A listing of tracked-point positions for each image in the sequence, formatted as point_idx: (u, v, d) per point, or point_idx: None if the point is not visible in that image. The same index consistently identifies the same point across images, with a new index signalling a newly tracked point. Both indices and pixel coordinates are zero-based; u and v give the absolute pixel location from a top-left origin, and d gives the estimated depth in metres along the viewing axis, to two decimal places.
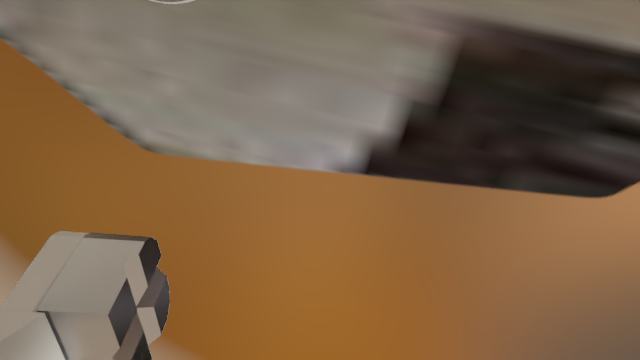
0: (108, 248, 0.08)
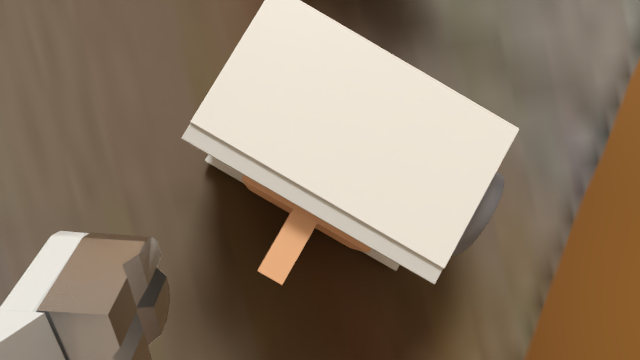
0: (108, 248, 0.08)
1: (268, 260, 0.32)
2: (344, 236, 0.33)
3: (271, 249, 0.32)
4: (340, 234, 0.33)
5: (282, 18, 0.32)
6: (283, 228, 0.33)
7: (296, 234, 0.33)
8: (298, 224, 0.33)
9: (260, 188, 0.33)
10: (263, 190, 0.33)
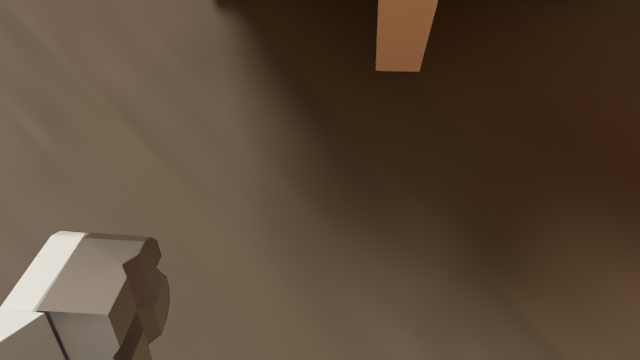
0: (108, 248, 0.08)
1: None
2: None
3: None
4: None
5: None
6: None
7: None
8: None
9: None
10: None
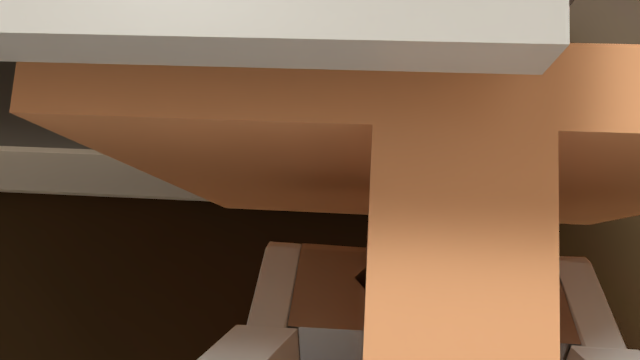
0: (332, 260, 0.08)
1: None
2: None
3: None
4: None
5: None
6: (376, 264, 0.05)
7: (472, 262, 0.05)
8: (450, 196, 0.05)
9: (135, 108, 0.05)
10: (157, 110, 0.05)
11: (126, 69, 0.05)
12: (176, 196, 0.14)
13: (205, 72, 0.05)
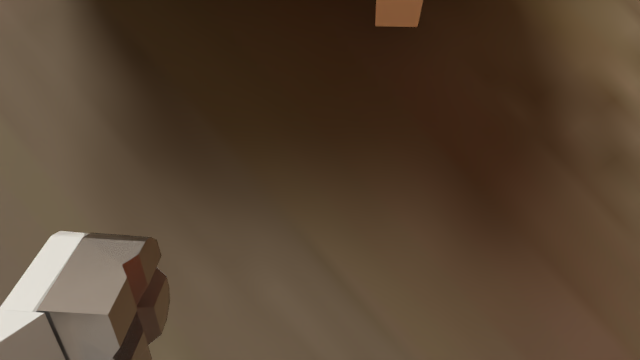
0: (108, 248, 0.08)
1: None
2: None
3: None
4: None
5: None
6: None
7: None
8: None
9: None
10: None
11: None
12: None
13: None
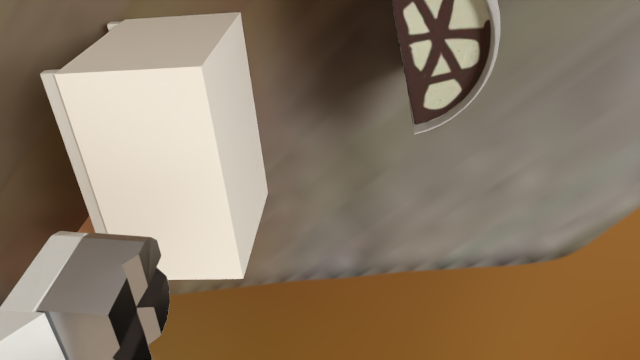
0: (108, 248, 0.08)
1: None
2: None
3: None
4: None
5: (182, 89, 0.34)
6: None
7: None
8: None
9: None
10: None
11: None
12: None
13: None
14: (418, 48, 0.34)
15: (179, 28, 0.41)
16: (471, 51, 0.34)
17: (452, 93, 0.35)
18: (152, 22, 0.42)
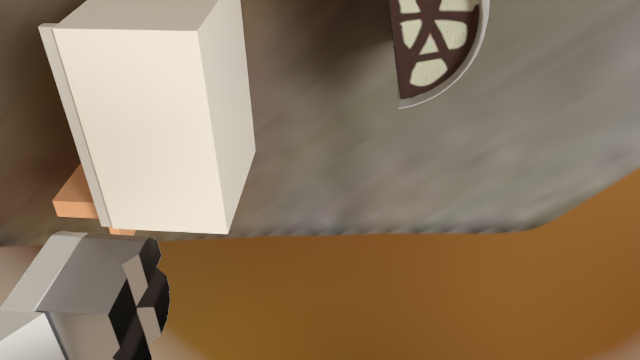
0: (108, 248, 0.08)
1: (62, 203, 0.45)
2: None
3: (69, 202, 0.45)
4: (111, 232, 0.47)
5: (177, 52, 0.35)
6: (86, 203, 0.45)
7: (89, 211, 0.46)
8: (95, 209, 0.45)
9: None
10: None
11: None
12: None
13: None
14: (408, 27, 0.35)
15: None
16: (459, 32, 0.35)
17: (438, 72, 0.37)
18: None
